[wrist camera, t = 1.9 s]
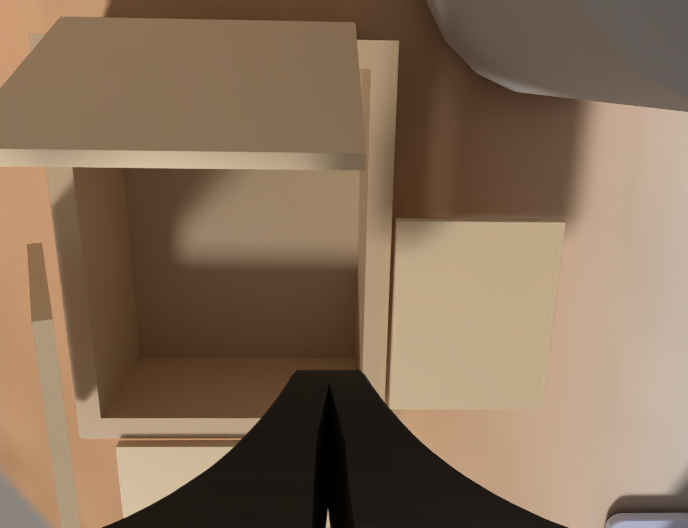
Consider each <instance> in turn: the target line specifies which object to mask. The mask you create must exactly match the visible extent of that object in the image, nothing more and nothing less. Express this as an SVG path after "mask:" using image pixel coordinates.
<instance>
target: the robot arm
mask: <svg viewBox="0 0 688 528" xmlns="http://www.w3.org/2000/svg"><path fill="white" fill-rule="evenodd" d="M327 513H329V522H330V528H568V527H565V526H562V525H560V524H557V523H554V522H551V521H549V520H546V519H544V518H542V517H540V516H538V515H535V514H533V513H531V512H529V511H527V510H525V509H523V508H521V507H518V506H516V505H514V504H512V503H510V502H508V501H507V500H505V499H503V498H501V497H499V496H497V495H495V494H493V493H492V492H490V491H488V490H487V489H485V488H483V487H482V486H480V485H479V484H477V483H475V482H474V481H472V480H470V479H469V478H467V477H466V476H464V475H463V474H461V473H460V472H458V471H457V470H455V469H454V468H453V467H451V466H450V465H449V464H447V463H446V462H445V461H443V460H442V459H441V458H440V457H438V456H437V455H436V454H434V453H433V452H432V451H431V450H430V449H428V448H427V447H426V446H425V445H424V444H423V443H421V442H420V441H419V440H418V439H417V438H416V437H415V436H414V435H413V434H412V433H411V432H410V431H409V430H408V429H407V428H406V426H405V425H404V424H403V423H402V422H401V421H400V420H399V419H398V417H397V416H396V415H395V414H394V413H393V412H392V411H391V409H390V408H389V407H388V406H387V405H386V403H385V402H384V401H383V399H382V398H381V397H380V395H379V394H378V393H377V392H376V390H375V389H374V387H373V386H372V384H371V383H370V381H369V380H368V378H367V377H366V375H365V374H364V373H363V372H362V371H361V370H297V371H296V372H295V373H293V374H292V375H291V377H290V379H289V381H288V382H287V384H286V386H285V387H284V389H283V390H282V392H281V393H280V394H279V396H278V397H277V398H276V400H275V401H274V402H273V404H272V405H271V406H270V407H269V409H268V410H267V411H266V412H265V414H264V415H263V416H262V417H261V419H260V420H259V421H258V422H257V423H256V424H255V425H254V426H253V428H252V429H251V430H250V431H249V432H248V433H247V434H246V435H245V436H244V437H243V438H242V439H241V440H240V441H239V442H238V443H237V444H236V445H235V446H234V447H233V448H232V449H231V450H230V451H229V452H228V453H227V454H226V455H224V456H223V457H222V458H221V459H220V460H219V461H217V462H216V463H215V464H214V465H212V466H211V467H210V468H208V469H207V470H206V471H204V472H203V473H201V474H200V475H198V476H197V477H195V478H194V479H192V480H191V481H189V482H188V483H186V484H185V485H183V486H182V487H180V488H179V489H177V490H176V491H174V492H173V493H171V494H169V495H168V496H166V497H164V498H162V499H160V500H159V501H157V502H155V503H153V504H151V505H150V506H148V507H146V508H144V509H142V510H140V511H138V512H136V513H134V514H132V515H130V516H128V517H126V518H123V519H121V520H119V521H117V522H115V523H112V524H110V525H107V526H105V527H102V528H326V522H327ZM605 528H688V513H619V514H615V515H613V516H611V517H610V518H609V519H608V520H607V523H606V526H605Z"/></svg>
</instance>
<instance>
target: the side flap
mask: <svg viewBox="0 0 688 528" xmlns="http://www.w3.org/2000/svg"><path fill="white" fill-rule="evenodd" d="M27 251H28V268H29V285H30V301H31V318H32V327H33V334H34V341H35V348H36V355H37V362H38V369H39V376H40V383H41V390H42V397H43V404H44V411H45V418H46V425H47V432H48V439H49V446H50V453H51V460H52V467H53V474H54V481H55V488H56V495H57V502H58V509H59V516H60V523H61V528H80V523H79V515H78V507H77V500H76V492H75V485H74V477H73V469H72V462H71V454H70V447H69V439H68V432H67V424H66V416H65V409H64V401H63V394H62V386H61V379H60V371H59V363H58V356H57V348H56V341H55V333H54V325H53V318H52V311H51V304H50V297H49V290H48V283H47V276H46V269H45V262H44V255H43V248H42V243H34V244H27Z"/></svg>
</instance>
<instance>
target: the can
mask: <svg viewBox="0 0 688 528" xmlns="http://www.w3.org/2000/svg"><path fill="white" fill-rule="evenodd" d="M426 2H427V4H428V6H429V8H430V10H431V12H432V15H433V17H434V19H435V21H436V23H437V25H438V27H439V29H440V31H441V33H442V35H443V37H444V39H445V41H446V43H447V44H448V45H449V46H450V47H451V48H452V49H453V50H454V51H455V52H456V53H457V54H458V55H459V56H460V57H461V58H462V59H463V60H464V61H465V62H466V63H467V64H468V65H469V66H470V67H471V68H472V69H473V70H474V71H475V72H476V73H477V74H479V75H481V76H483V77H485V78H487V79H489V80H491V81H493V82H495V83H497V84H499V85H501V86H503V87H505V88H507V89H509V90H511V91H514V92H521V93H530V94H538V95H547V96H555V97H564V98H572V99H581V100H590V101H598V102H607V103H616V104H625V105H633V106H642V107H651V108H659V109H668V110H677V111H685V112H688V0H426Z"/></svg>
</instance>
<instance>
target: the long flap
mask: <svg viewBox="0 0 688 528" xmlns="http://www.w3.org/2000/svg"><path fill="white" fill-rule="evenodd" d="M0 166H10V167H96V168H181V169H266V170H352V171H365V166H366V145H365V132H364V120H363V108H362V96H361V84H360V72H359V60H358V48H357V35H356V23H355V22H319V21H267V20H214V19H162V18H110V17H60V18H59V19H58V20H57V21H56V23H55V24H54V25H53V26H52V27H51V29H50V30H49V31H48V32H47V33H46V35H45V36H44V37H43V38H42V39H41V41H40V42H39V43H38V44H37V45H36V47H35V48H34V49H33V50H32V51H31V52H30V54H29V55H28V56H27V57H26V58H25V60H24V61H23V62H22V63H21V64H20V66H19V67H18V68H17V69H16V70H15V72H14V73H13V74H12V75H11V76H10V78H9V79H8V80H7V81H6V82H5V84H4V85H3V86H2V87H1V88H0Z"/></svg>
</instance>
